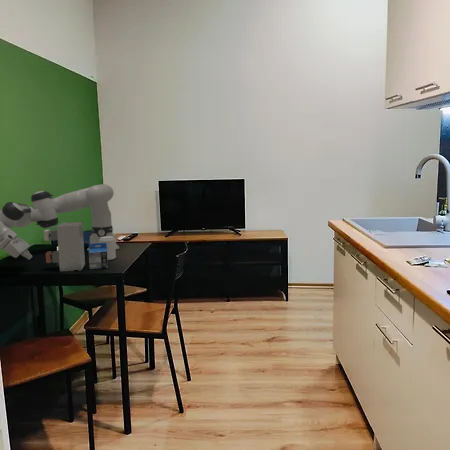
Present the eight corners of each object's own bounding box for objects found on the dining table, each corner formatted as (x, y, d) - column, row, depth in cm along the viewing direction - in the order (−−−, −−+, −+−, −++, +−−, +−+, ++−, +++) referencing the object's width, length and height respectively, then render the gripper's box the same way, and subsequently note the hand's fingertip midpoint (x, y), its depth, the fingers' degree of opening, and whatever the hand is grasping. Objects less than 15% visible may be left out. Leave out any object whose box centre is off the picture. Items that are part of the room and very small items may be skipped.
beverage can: (100, 261, 247) (98, 238, 246) (101, 258, 255) (99, 236, 254) (115, 260, 249) (114, 238, 247) (116, 257, 257) (115, 235, 255)
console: (56, 265, 238) (53, 223, 235) (85, 264, 240) (82, 221, 237) (51, 272, 224) (48, 226, 221) (81, 270, 227) (78, 225, 224)
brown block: (48, 260, 233) (47, 251, 232) (59, 260, 234) (59, 250, 233) (46, 263, 228) (45, 253, 227) (58, 262, 229) (57, 252, 228)
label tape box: (89, 269, 228) (87, 245, 226) (89, 267, 232) (88, 243, 230) (107, 268, 230) (106, 243, 228) (108, 266, 234) (106, 242, 232)
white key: (46, 239, 231) (45, 229, 230) (58, 238, 232) (57, 229, 231) (44, 240, 226) (43, 231, 226) (56, 240, 227) (55, 230, 227)
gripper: (9, 240, 236) (31, 258, 239) (-3, 247, 216) (21, 267, 219) (18, 231, 236) (40, 249, 239) (6, 237, 216) (30, 257, 219)
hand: (30, 258), depth 229 cm, fingers closed
